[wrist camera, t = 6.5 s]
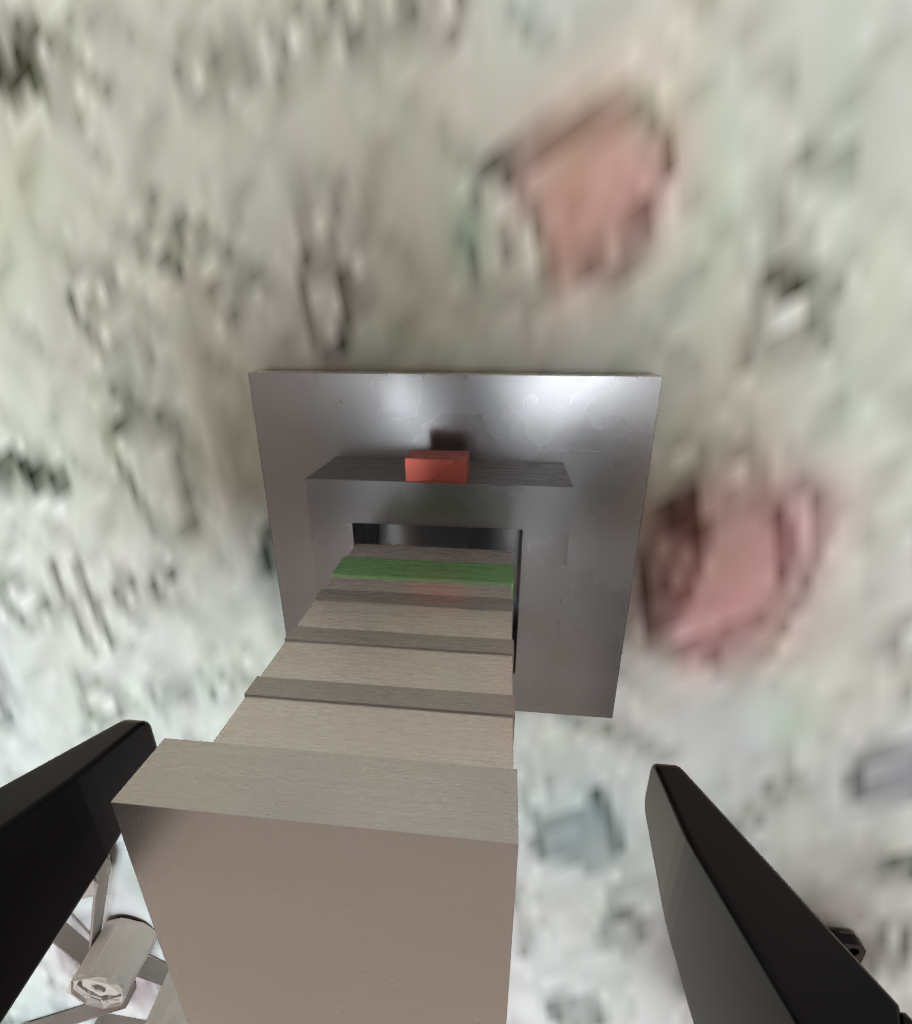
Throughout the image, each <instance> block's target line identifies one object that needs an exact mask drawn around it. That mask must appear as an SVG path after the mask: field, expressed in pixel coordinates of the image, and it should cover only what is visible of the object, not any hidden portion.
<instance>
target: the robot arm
mask: <svg viewBox="0 0 912 1024" xmlns="http://www.w3.org/2000/svg"><path fill="white" fill-rule="evenodd" d="M156 748H157V746H156V742H155V739H154V735H153V732H152V728H151V726H150V724H149V723H148V722H146V721H140V720H124V721H121V722H119V723H117V724H115V725H114V726H112V727H110V728H108V729H106V730H105V731H103V732H101V733H99V734H97V735H95V736H94V737H92V738H90V739H88V740H86V741H85V742H83V743H81V744H79V745H77V746H75V747H74V748H72V749H70V750H68V751H66V752H64V753H63V754H61V755H59V756H57V757H55V758H54V759H52V760H50V761H48V762H46V763H44V764H43V765H41V766H39V767H37V768H35V769H33V770H32V771H30V772H28V773H26V774H24V775H23V776H21V777H19V778H17V779H15V780H13V781H12V782H10V783H8V784H6V785H4V786H3V787H1V788H0V1023H1V1022H2V1020H3V1019H4V1017H5V1016H6V1014H7V1013H8V1011H9V1009H10V1008H11V1006H12V1005H13V1003H14V1002H15V1000H16V999H17V997H18V996H19V994H20V992H21V991H22V989H23V988H24V986H25V985H26V983H27V982H28V980H29V979H30V977H31V975H32V974H33V972H34V971H35V969H36V968H37V966H38V965H39V963H40V962H41V960H42V958H43V957H44V955H45V954H46V952H47V951H48V949H49V948H50V946H51V944H52V943H53V941H54V940H55V938H56V937H57V935H58V934H59V932H60V931H61V929H62V927H63V926H64V924H65V923H66V921H67V920H68V918H69V917H70V915H71V914H72V912H73V910H74V909H75V907H76V906H77V904H78V903H79V901H80V900H81V898H82V897H83V895H84V893H85V892H86V890H87V889H88V887H89V886H90V884H91V883H92V881H93V880H94V878H95V876H96V875H97V873H98V872H99V870H100V869H101V867H102V865H103V864H104V862H105V860H106V859H107V857H108V855H109V854H110V852H111V850H112V848H113V847H114V845H115V843H116V841H117V840H118V838H119V836H120V834H121V830H120V828H119V825H118V822H117V819H116V816H115V813H114V810H113V807H112V805H111V801H112V800H113V799H114V798H115V796H116V795H117V794H118V793H119V792H120V791H121V789H122V788H123V787H124V786H125V785H126V783H127V782H128V781H129V780H130V779H131V778H132V776H133V775H134V774H135V773H136V772H137V770H138V769H139V768H140V767H141V766H142V765H143V763H144V762H145V761H146V760H147V759H148V757H149V756H150V755H151V754H152V753H153V752H154V750H155V749H156ZM645 813H646V819H647V824H648V830H649V835H650V841H651V846H652V852H653V857H654V863H655V868H656V874H657V879H658V885H659V890H660V896H661V901H662V906H663V911H664V916H665V921H666V925H667V929H668V933H669V937H670V941H671V944H672V948H673V951H674V955H675V959H676V962H677V966H678V969H679V973H680V976H681V980H682V984H683V987H684V991H685V994H686V999H687V1002H688V1006H689V1009H690V1012H691V1016H692V1019H693V1023H694V1024H912V1019H911V1018H910V1017H909V1016H908V1015H907V1014H906V1013H904V1012H901V1013H900V1008H899V1006H898V1004H897V1003H896V1002H895V1001H894V1000H893V999H892V998H891V996H890V995H889V994H888V993H887V992H886V991H885V990H884V989H883V988H882V987H881V986H880V984H879V983H878V982H877V981H876V980H875V979H874V978H873V977H872V976H871V975H870V974H869V972H868V971H867V970H866V969H865V968H864V967H863V966H862V965H861V964H860V963H861V961H862V959H863V957H864V955H865V953H866V950H865V949H864V947H863V945H862V943H861V942H860V940H859V938H858V937H857V936H855V935H851V934H844V933H835V932H831V931H830V930H829V929H828V928H827V927H826V926H825V924H824V923H823V922H822V921H821V920H820V919H819V918H818V917H817V916H816V915H815V914H814V912H813V911H812V910H811V909H810V908H809V907H808V906H807V905H806V904H805V903H804V902H803V900H802V899H801V898H800V897H799V896H798V895H797V894H796V893H795V892H794V891H793V890H792V888H791V887H790V886H789V885H788V884H787V883H786V882H785V881H784V880H783V879H782V878H781V876H780V875H779V874H778V873H777V872H776V871H775V870H774V869H773V868H772V867H771V866H770V864H769V863H768V862H767V861H766V860H765V859H764V858H763V857H762V856H761V855H760V854H759V852H758V851H757V850H756V849H755V848H754V847H753V846H752V845H751V844H750V843H749V842H748V840H747V839H746V838H745V837H744V836H743V835H742V834H741V833H740V832H739V831H738V830H737V828H736V827H735V826H734V825H733V824H732V823H731V822H730V821H729V820H728V819H727V818H726V816H725V815H724V814H723V813H722V812H721V811H720V810H719V809H718V808H717V807H716V806H715V804H714V803H713V802H712V801H711V800H710V799H709V798H708V797H707V796H706V795H705V794H704V793H703V791H702V790H701V789H700V788H699V787H698V786H697V785H696V784H695V783H694V782H693V781H692V779H691V778H690V777H689V776H688V775H687V774H686V773H685V772H684V771H683V770H682V769H681V768H680V767H678V766H676V765H667V764H654V765H653V766H652V768H651V771H650V776H649V781H648V786H647V791H646V796H645Z"/></svg>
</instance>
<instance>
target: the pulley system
mask: <svg viewBox="0 0 912 1024" xmlns="http://www.w3.org/2000/svg"><path fill="white" fill-rule="evenodd" d="M110 867H111V861H110V854H109V855H108V857H107V859H106V860H105V862H104V864H103V865H102V867H101V869H100V870H99V872H98V873H97V875H96V876H95V878H94V880H93V881H92V883H91V884H90V886H89V887H88V889H87V890H86V892H85V893H84V895H83V897H82V898H87V897H92V896H93V905H92V917H91V928H90V939H89V941H87V940H86V939H85V938H84V937H83V936H82V935H80V934H79V933H78V932H77V931H76V930H75V929H73V928H72V927H71V926H70V925H69V924H68V923H65V924H64V926H63V927H62V929H61V931H60V932H59V934H58V935H57V937H56V938H55V940H54V941H53V944H54V945H56V946H57V947H58V948H59V949H61V950H62V951H63V952H64V953H66V954H67V955H68V956H69V957H71V958H72V959H73V960H74V961H76V962H77V963H78V964H79V965H80V967H79V969H78V971H77V972H76V974H75V976H74V977H73V978H72V980H71V982H70V984H69V986H68V988H67V990H66V992H67V993H69V994H70V995H72V996H73V997H75V998H76V999H78V1000H79V1001H81V1002H83V1003H84V1004H86V1005H82V1006H79V1007H76V1008H73V1009H70V1010H67V1011H63V1012H60V1013H57V1014H54V1015H51V1016H48V1017H44V1018H41V1019H38V1020H35V1021H32V1022H29V1021H26V1022H25V1023H24V1024H78V1023H81V1022H84V1021H87V1020H90V1019H93V1018H96V1017H98V1018H97V1020H96V1022H95V1024H187V1021H186V1018H185V1015H184V1012H183V1009H182V1007H181V1004H180V1001H179V998H178V995H177V992H176V989H175V986H174V983H173V981H172V978H171V975H170V972H169V969H168V966H167V963H164V962H161V961H159V960H156V959H153V958H151V957H148V955H149V953H150V951H151V949H152V948H153V946H154V944H155V942H156V940H157V934H156V932H155V930H154V929H153V928H151V927H150V926H148V925H147V924H145V923H143V922H139V921H135V920H131V919H126V918H117V919H113V920H108V921H107V922H106V924H105V926H104V927H103V929H102V931H101V928H102V921H103V914H104V908H105V901H106V894H107V887H108V880H109V873H110ZM82 898H81V899H82ZM136 977H140V978H142V979H145V980H148V981H151V982H153V983H156V984H159V985H162V987H161V989H160V991H159V993H158V996H157V998H156V1000H155V1003H154V1005H153V1007H152V1009H151V1012H150V1014H149V1016H148V1019H147V1020H141V1019H136V1018H131V1017H125V1016H120V1015H114V1014H109V1013H112V1012H115V1011H118V1010H121V1009H124V1008H126V1007H127V1005H128V1003H129V1001H130V999H131V997H132V995H133V993H134V991H135V986H136V982H135V979H136ZM106 1014H107V1015H106ZM102 1015H103V1016H102Z"/></svg>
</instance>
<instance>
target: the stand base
mask: <svg viewBox="0 0 912 1024" xmlns="http://www.w3.org/2000/svg"><path fill="white" fill-rule="evenodd" d="M248 374H249V381H250V388H251V395H252V401H253V408H254V415H255V422H256V429H257V436H258V443H259V450H260V457H261V464H262V471H263V477H264V484H265V491H266V498H267V505H268V512H269V519H270V526H271V533H272V540H273V547H274V553H275V560H276V567H277V574H278V581H279V588H280V595H281V602H282V609H283V616H284V623H285V629H286V636H287V635H288V634H289V632H290V631H291V630H292V628H293V627H294V626H297V625H298V624H299V622H300V621H301V620H302V618H303V617H304V615H305V614H306V613H307V611H308V610H309V608H310V607H311V606H312V604H313V603H314V602H315V599H314V598H315V597H316V595H317V594H318V593H319V591H320V590H321V589H324V588H325V586H326V585H327V584H328V582H329V581H330V579H331V578H332V572H333V571H334V570H335V568H336V567H337V566H338V564H339V563H340V561H341V560H342V559H343V557H344V556H346V557H347V556H348V554H349V553H350V552H351V550H352V549H353V547H354V546H355V545H356V544H375V545H397V546H420V547H442V548H464V549H486V550H508V551H511V564H513V625H512V640H514V663H513V682H512V693H513V695H515V711H527V712H540V713H553V714H566V715H579V716H592V717H605V718H612V715H613V708H614V702H615V695H616V688H617V681H618V674H619V668H620V661H621V654H622V647H623V640H624V634H625V627H626V620H627V613H628V606H629V600H630V593H631V586H632V579H633V572H634V566H635V559H636V552H637V545H638V539H639V532H640V525H641V518H642V511H643V505H644V498H645V491H646V484H647V477H648V471H649V464H650V457H651V450H652V443H653V437H654V430H655V423H656V416H657V409H658V403H659V396H660V389H661V382H662V377H661V376H658V375H654V374H609V373H507V372H404V371H302V370H262V371H255V372H249V373H248Z"/></svg>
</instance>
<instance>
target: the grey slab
mask: <svg viewBox="0 0 912 1024" xmlns="http://www.w3.org/2000/svg"><path fill="white" fill-rule="evenodd" d="M314 599H315V602H314V603H313V604H312V606H311V607H310V608H309V610H308V611H307V613H306V614H305V615H304V617H303V618H302V620H301V621H300V622H299V624H298V625H297V626H294V627H293V628H292V630H291V631H290V632H289V634H288V635H287V636H286V638H285V643H284V645H283V646H282V647H281V649H280V650H279V651H278V653H277V654H276V656H275V657H274V658H273V660H272V661H271V663H270V664H269V665H268V667H267V668H266V669H265V671H264V672H263V674H262V675H261V676H257V677H256V679H255V680H254V681H253V683H252V684H251V686H250V687H249V688H248V690H247V691H246V692H245V694H244V695H245V699H244V700H243V701H242V703H241V704H240V706H239V707H238V708H237V710H236V711H235V712H234V714H233V715H232V717H231V718H230V719H229V721H228V722H227V724H226V725H225V726H224V728H223V729H222V730H221V732H220V733H219V735H218V736H217V737H216V739H215V740H214V742H213V743H212V742H201V741H189V740H178V739H167V738H165V739H164V740H163V741H162V742H161V743H160V744H159V746H158V747H157V748H156V749H155V750H154V752H153V753H152V754H151V755H150V756H149V757H148V759H147V760H146V761H145V762H144V763H143V765H142V766H141V767H140V768H139V769H138V770H137V772H136V773H135V774H134V775H133V776H132V778H131V779H130V780H129V781H128V782H127V783H126V785H125V786H124V787H123V788H122V789H121V791H120V792H119V793H118V794H117V795H116V796H115V798H114V799H113V800H112V801H111V805H112V807H113V810H114V813H115V816H116V819H117V822H118V825H119V828H120V830H121V833H122V836H123V839H124V842H125V845H126V848H127V851H128V854H129V856H130V859H131V862H132V865H133V868H134V871H135V874H136V877H137V880H138V882H139V885H140V888H141V891H142V894H143V897H144V900H145V903H146V906H147V908H148V911H149V914H150V917H151V920H152V923H153V926H154V929H155V932H156V934H157V937H158V940H159V943H160V946H161V949H162V952H163V955H164V957H165V960H166V963H167V966H168V969H169V972H170V975H171V978H172V981H173V983H174V986H175V989H176V992H177V995H178V998H179V1001H180V1004H181V1007H182V1009H183V1012H184V1015H185V1018H186V1021H187V1024H506V1019H507V1004H508V990H509V975H510V960H511V945H512V931H513V916H514V901H515V887H516V872H517V857H518V795H517V769H513V740H514V722H515V695H513V693H512V682H513V663H514V640H512V625H513V564H511V551H508V550H486V549H464V548H442V547H420V546H397V545H375V544H356V545H355V546H354V547H353V549H352V550H351V552H350V553H349V554H348V556H347V557H346V556H344V557H343V559H342V560H341V561H340V563H339V564H338V566H337V567H336V568H335V570H334V571H333V572H332V578H331V579H330V581H329V582H328V584H327V585H326V586H325V588H324V589H321V590H320V591H319V593H318V594H317V595H316V597H315V598H314Z"/></svg>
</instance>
